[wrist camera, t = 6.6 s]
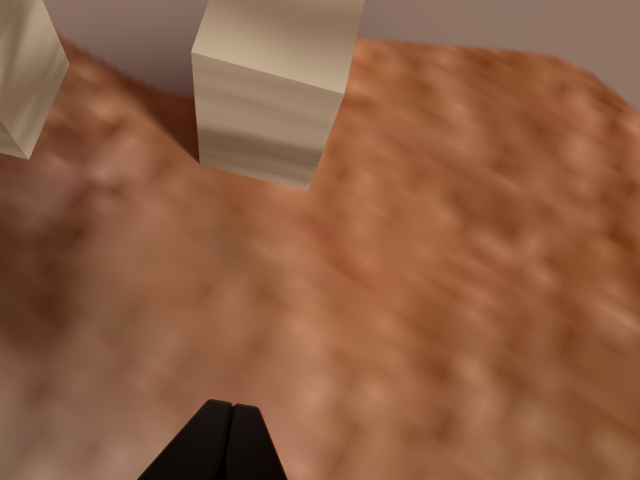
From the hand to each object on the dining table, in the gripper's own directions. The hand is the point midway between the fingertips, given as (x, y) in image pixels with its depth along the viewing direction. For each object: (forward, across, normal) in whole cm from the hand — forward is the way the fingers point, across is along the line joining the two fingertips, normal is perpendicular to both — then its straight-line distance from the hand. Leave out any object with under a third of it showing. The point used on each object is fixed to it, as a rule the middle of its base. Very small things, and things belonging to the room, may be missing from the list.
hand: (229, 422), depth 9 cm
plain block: (+19, +1, 0) cm, 19 cm away
